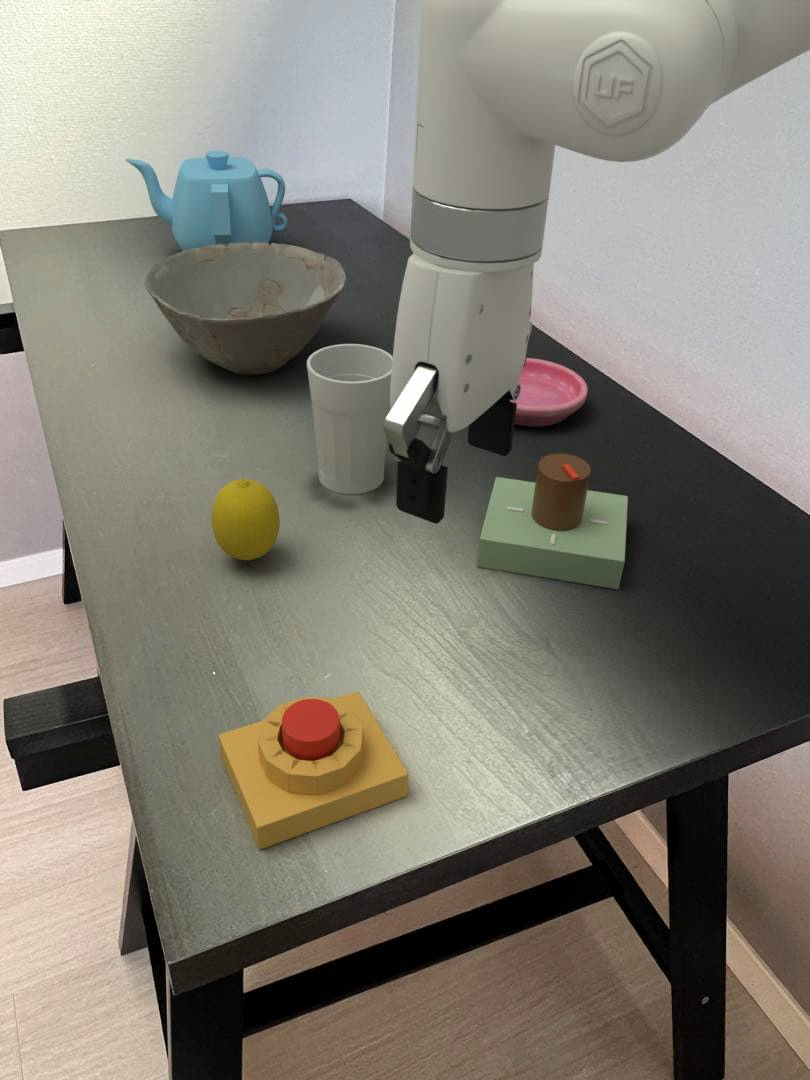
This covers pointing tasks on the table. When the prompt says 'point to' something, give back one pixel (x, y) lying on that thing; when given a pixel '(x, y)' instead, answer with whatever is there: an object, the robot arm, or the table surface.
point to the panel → (554, 538)
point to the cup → (350, 415)
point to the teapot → (216, 201)
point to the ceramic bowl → (246, 301)
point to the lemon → (245, 519)
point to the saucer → (548, 393)
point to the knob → (560, 491)
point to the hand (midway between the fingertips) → (456, 480)
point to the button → (311, 729)
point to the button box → (311, 773)
